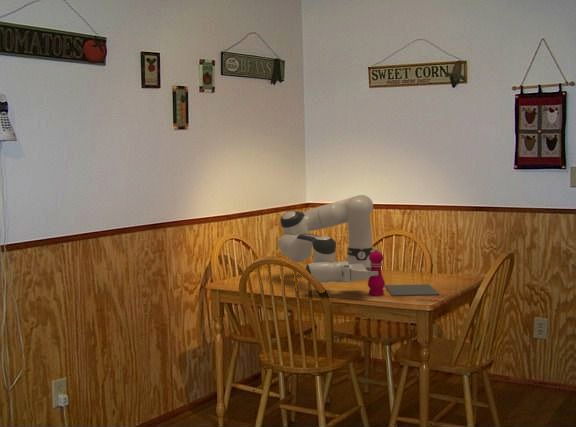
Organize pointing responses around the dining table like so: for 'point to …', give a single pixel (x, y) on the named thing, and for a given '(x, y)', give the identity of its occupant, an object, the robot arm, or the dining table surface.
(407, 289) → the mat
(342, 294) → the dining table surface
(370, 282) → the pepper mill
